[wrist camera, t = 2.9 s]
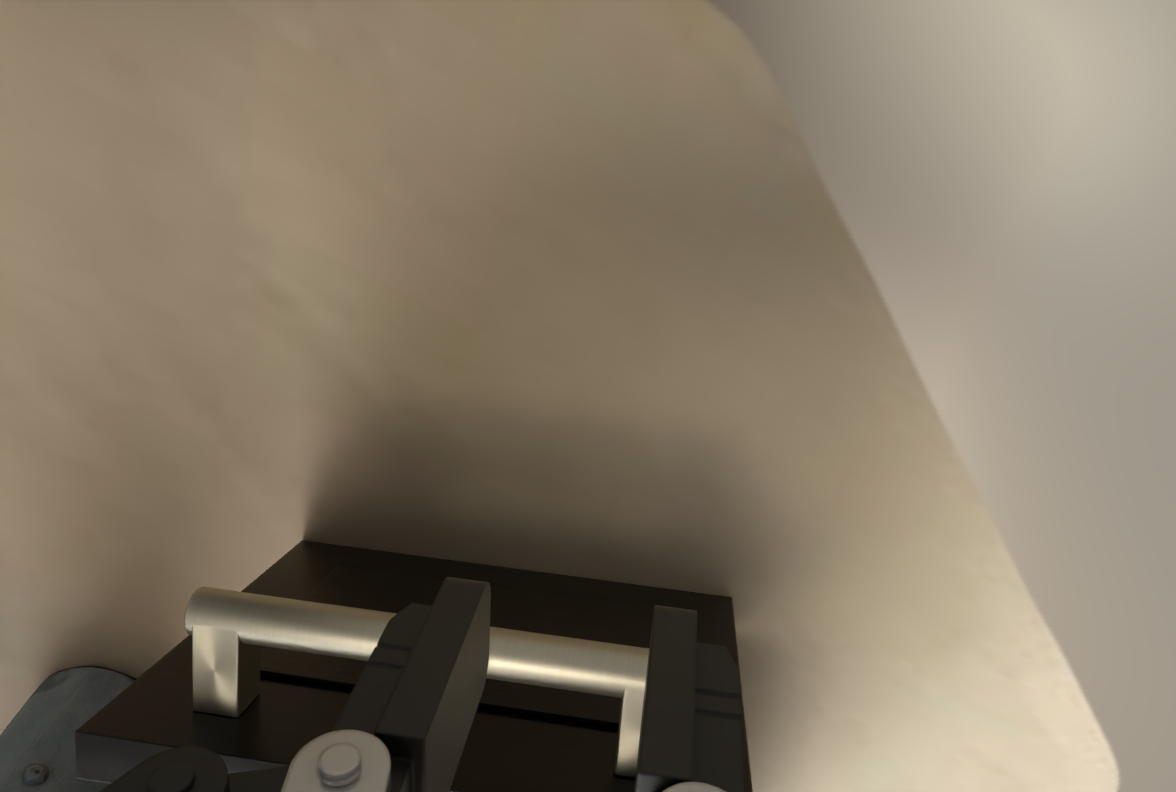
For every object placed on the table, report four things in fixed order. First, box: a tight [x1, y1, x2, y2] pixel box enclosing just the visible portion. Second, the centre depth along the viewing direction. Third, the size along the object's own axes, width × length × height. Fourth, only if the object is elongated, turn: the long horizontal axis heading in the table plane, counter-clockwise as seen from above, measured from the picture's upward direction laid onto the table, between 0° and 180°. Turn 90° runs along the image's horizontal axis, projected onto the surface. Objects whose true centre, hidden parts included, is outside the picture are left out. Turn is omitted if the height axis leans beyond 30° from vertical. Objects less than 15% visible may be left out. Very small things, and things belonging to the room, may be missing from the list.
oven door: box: [75, 541, 753, 792], centre depth 33 cm, size 5×20×16 cm, turn 86°
